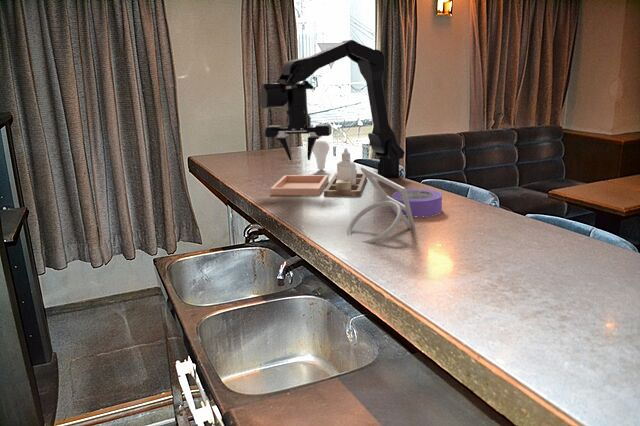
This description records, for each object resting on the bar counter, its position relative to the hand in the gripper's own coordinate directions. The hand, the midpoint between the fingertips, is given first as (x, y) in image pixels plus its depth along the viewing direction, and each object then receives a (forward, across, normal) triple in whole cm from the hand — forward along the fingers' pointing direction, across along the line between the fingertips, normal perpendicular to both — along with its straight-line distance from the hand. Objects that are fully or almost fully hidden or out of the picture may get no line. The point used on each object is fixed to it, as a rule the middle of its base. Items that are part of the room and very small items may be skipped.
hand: (299, 160), depth 154 cm
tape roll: (+9, -33, +25) cm, 43 cm away
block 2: (+9, -13, -10) cm, 19 cm away
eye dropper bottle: (+9, -14, -1) cm, 16 cm away
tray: (+9, 0, 0) cm, 9 cm away
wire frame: (+12, -28, +42) cm, 52 cm away
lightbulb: (+9, -1, -29) cm, 30 cm away
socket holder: (+9, -13, -2) cm, 16 cm away
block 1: (+9, -13, +6) cm, 17 cm away
